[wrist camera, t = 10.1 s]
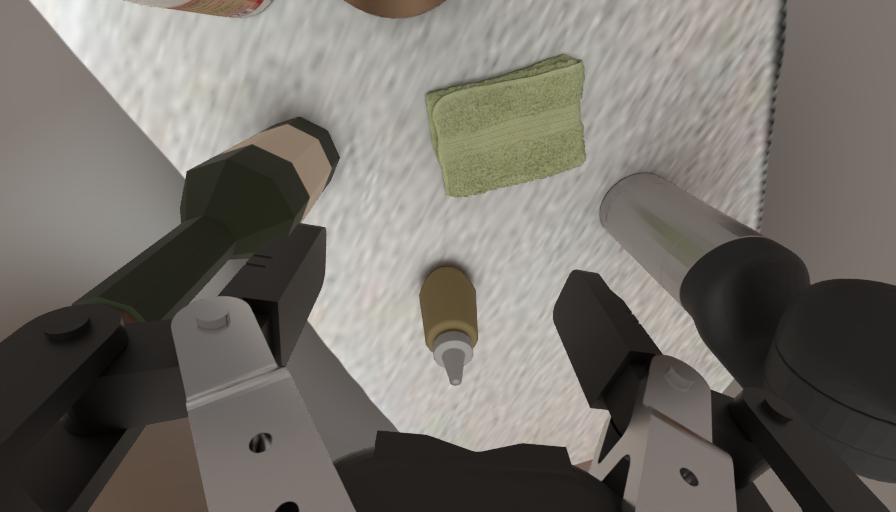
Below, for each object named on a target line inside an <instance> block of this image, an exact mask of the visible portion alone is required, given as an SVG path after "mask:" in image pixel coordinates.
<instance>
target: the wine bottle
mask: <svg viewBox="0 0 896 512" xmlns="http://www.w3.org/2000/svg"><path fill="white" fill-rule="evenodd" d="M339 158H340V157H339V155H338V152H337V150H336V148H335V146H334V144H333V141H332V139H331V137H330V135H329V132H328V131H327V130H325V129H323V128H321V127H319V126H317V125H315V124H313V123H311V122H309V121H307V120H306V119H304V118H302V117H297V118H294V119H291V120H288V121H285V122H282V123H279V124H276V125H273V126H271V127H269V128H267V129H266V130H264V131H262V132H260V133H258V134H256V135H254V136H252V137H250V138H249V139H247V140H245V141H243V142H241V143H239V144H237V145H235V146H234V147H232V148H230V149H228V150H226V151H224V152H222V153H220V154H218V155H217V156H215V157H213V158H211V159H209V160H207V161H205V162H203V163H202V164H200V165H198V166H196V167H194V168H192V169H190V170H188V171H187V173H186V179H185V185H184V190H183V195H182V201H181V206H180V214H181V224H180V225H179V226H178V227H176V228H175V229H173V230H172V231H171V232H169V233H168V234H167V235H165V236H164V237H163V238H161V239H160V240H158V241H157V242H156V243H155V244H153V245H152V246H150V247H149V248H148V249H146V250H145V251H144V252H142V253H141V254H140V255H138V256H137V257H135V258H134V259H133V260H131V261H130V262H129V263H127V264H126V265H125V266H123V267H122V268H120V269H119V270H118V271H116V272H115V273H114V274H112V275H111V276H109V277H108V278H107V279H105V280H104V281H103V282H101V283H100V284H99V285H97V286H96V287H95V288H93V289H92V290H90V291H89V292H88V293H86V294H85V295H84V296H82V297H81V298H80V299H79V300H77V301H76V302H74V303H73V304H72V306H74V305H81V304H101V305H107V306H110V307H113V308H115V309H116V310H117V311H118V312H119V313H120V315H121V318H122V320H123V323H124V324H125V323H136V322H148V321H159V320H168V319H173V318H174V316H175V315H176V314H177V313H178V312H179V311H180V310H181V309H182V308H184V307H186V306H187V305H188V304H189V303H190V301H192V299H193V298H194V297H195V296H196V295H197V294H198V293H199V292H200V291H201V290H202V289H203V287H204V286H205V285H206V284H207V283H208V282H209V281H210V280H211V278H213V276H214V275H215V274H216V273H217V272H218V271H219V270H220V269H221V268H222V267H223V265H224V264H225V263H226V262H227V261H228V260H230V259H247V258H251V256H253V254H254V253H255V252H256V251H257V249H258V248H259V247H260V246H261V245H262V244H263V243H265V242H267V241H269V240H271V239H273V238H275V237H277V236H280V237H286V238H287V237H288V236H289V235H290V234H291V232H292V231H293V230H294V228H295V227H296V226H297V224H299V223H302V221H303V220H304V218H305V217H306V215H307V214H308V213H309V211H310V210H311V208H312V207H313V205H314V204H315V202H316V201H317V200H318V198H319V197H320V195H321V194H322V192H323V191H324V189H325V188H326V186H327V185H328V184H329V182H330V181H331V178H332V176H333V173H334V171H335V168H336V166H337V163H338V161H339Z"/></svg>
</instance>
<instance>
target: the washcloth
mask: <svg viewBox="0 0 896 512" xmlns="http://www.w3.org/2000/svg"><path fill="white" fill-rule="evenodd" d="M583 83H584V66H583V61H582V60H575V59H574V58H571V57H569V56H567V55H560V56H559V57H557V58H556V57H555V58H554V59H553V58H551V59H550V58H548V59H547V60H545V61H542V63H538V64H537V63H536V64H535V65H533V66H531V67H529V68H526V69H522V70H518V71H514V72H513V73H508V74H506V75H505V76H501V77H500V76H499V77H498V78H493V79H491V80H489V79H487V80H484V81H480V83H479V82H477V83H474V84H472V83H470V84H467V85H459V86H457V87H451V88H448V90H444V89H443V90H439V91H435V92H430V93H429V94H427V95H426V96H425V97H426V105H427V110H428V115H429V120H430V129H431V136H432V143H433V149H434V151H435V154H436V157H437V159H438V161H439V162H440V164H441V167H442V172H443V178H444V183H445V194H446V195H447V196H450V195H451V196H453V197H458V196H461V197H463V196H464V197H468V196H469V195H476V194H477V195H478V194H482V193H485V192H487V191H488V190H494V189H495V190H497V188H499V187H500V188H503V187H506V186H507V187H508V186H512V185H514V184H516V185H517V184H519V183H526V182H528V181H531V180H532V181H533V180H534V179H537V178H539V179H543V178H546V177H547V176H549V177H551V176H553V175H554V174H558V173H560V172H563V171H565V170H570V169H572V168H575V167H578V166H581V165H582V163H583V162H584V161H585V159H586V157H585V156H586V155H585V145H584V140H583V137H584V136H583V129H584V126H583V124H582V123H581V120H580V118H581V114H580V99H581V98H582V92H583Z"/></svg>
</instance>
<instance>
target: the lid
mask: <svg viewBox="0 0 896 512" xmlns="http://www.w3.org/2000/svg"><path fill="white" fill-rule="evenodd" d="M344 1H346V2H347V3H349V4H351V5H352V6H354V7H356V8H358V9H360V10H362V11H364V12H367V13H369V14H373V15H376V16H380V17H386V18H408V17H413V16H417V15H420V14H423V13H426V12H428V11H430V10H432V9H434V8H435V7H437V6H439V5H440V4H442V3H443V2H444V1H446V0H344Z"/></svg>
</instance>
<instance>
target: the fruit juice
mask: <svg viewBox="0 0 896 512" xmlns="http://www.w3.org/2000/svg"><path fill="white" fill-rule="evenodd" d="M124 1H128V2H132V3H136V4H140V5H145V6H150V7H159V8H167V9H174V10H181V11H188V12H195V13H202V14H209V15H216V16H223V17H230V18H246V17H250V16H254V15H256V14H258V13H260V12H261V11H263V10H264V9H265V8H266V7H267V6H268V5H269V4H270V2H271V1H272V0H124Z"/></svg>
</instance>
